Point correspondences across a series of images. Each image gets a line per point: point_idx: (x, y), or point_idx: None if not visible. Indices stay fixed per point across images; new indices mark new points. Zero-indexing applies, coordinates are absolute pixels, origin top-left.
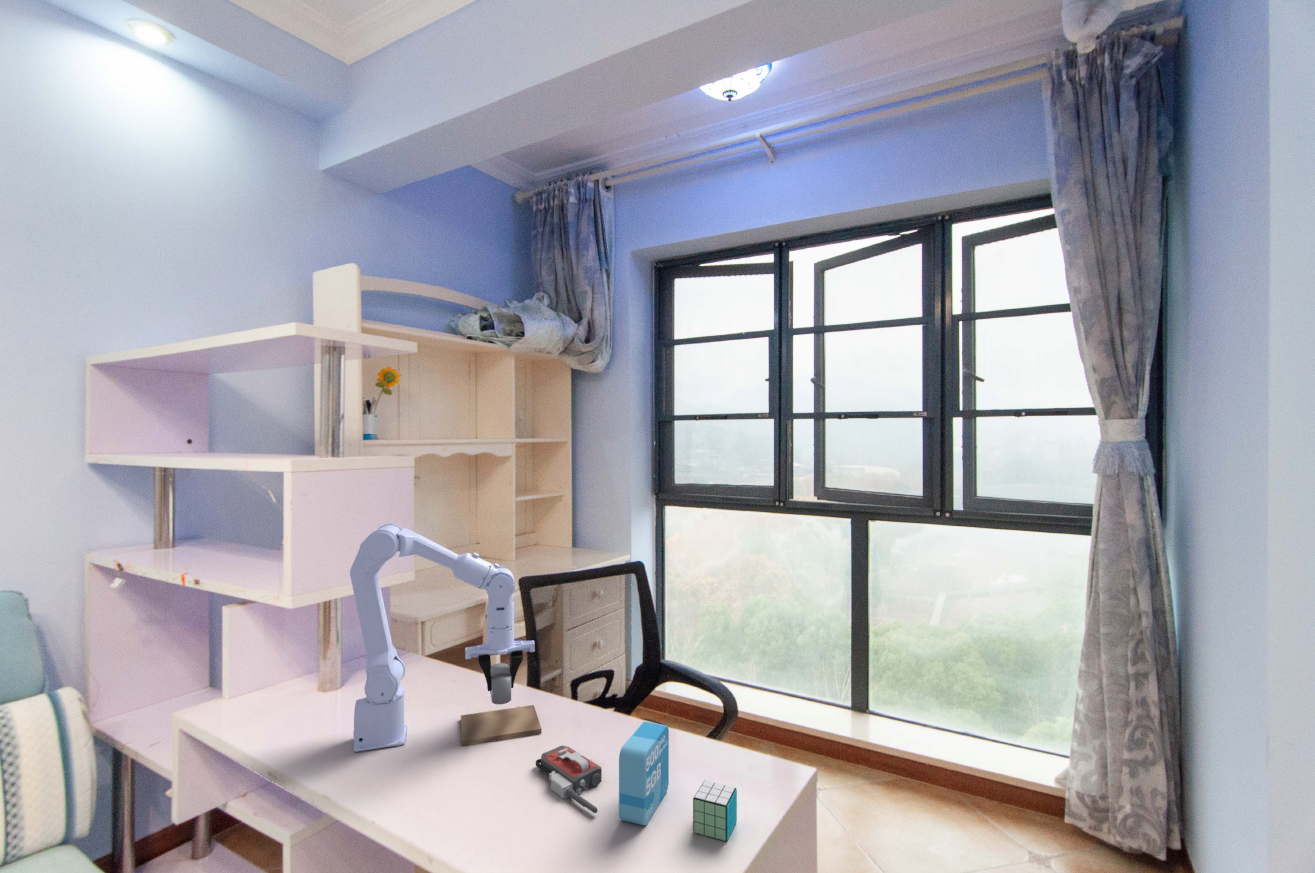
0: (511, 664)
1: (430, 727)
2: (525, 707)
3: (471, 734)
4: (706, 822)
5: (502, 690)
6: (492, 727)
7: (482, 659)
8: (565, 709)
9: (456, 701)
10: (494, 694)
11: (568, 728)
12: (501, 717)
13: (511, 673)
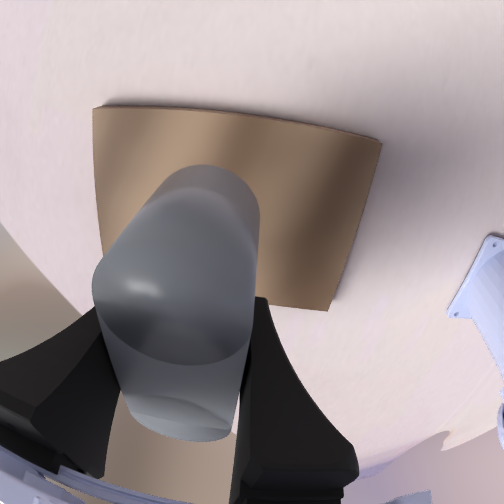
0: (71, 383)
1: (407, 293)
2: None
3: (340, 173)
4: None
5: (188, 196)
6: (256, 189)
7: (310, 491)
8: (37, 231)
9: (302, 379)
10: (248, 215)
11: (32, 115)
12: None
13: (99, 331)
